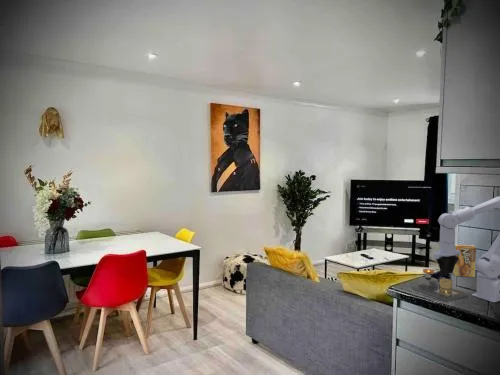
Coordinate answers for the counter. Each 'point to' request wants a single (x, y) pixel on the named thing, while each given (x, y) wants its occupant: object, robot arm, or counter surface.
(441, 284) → the glass candle
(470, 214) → the robot arm
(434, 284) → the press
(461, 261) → the candy box
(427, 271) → the tealight candle holder
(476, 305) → the counter surface
